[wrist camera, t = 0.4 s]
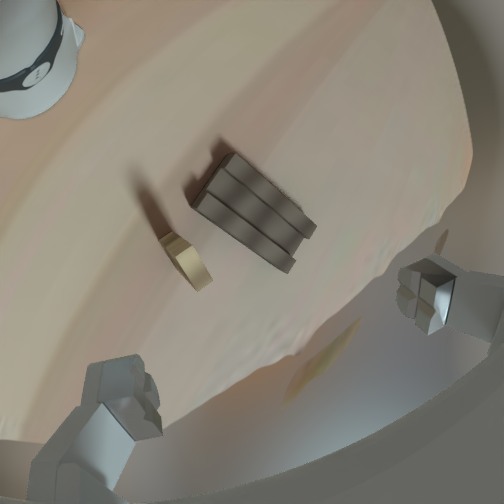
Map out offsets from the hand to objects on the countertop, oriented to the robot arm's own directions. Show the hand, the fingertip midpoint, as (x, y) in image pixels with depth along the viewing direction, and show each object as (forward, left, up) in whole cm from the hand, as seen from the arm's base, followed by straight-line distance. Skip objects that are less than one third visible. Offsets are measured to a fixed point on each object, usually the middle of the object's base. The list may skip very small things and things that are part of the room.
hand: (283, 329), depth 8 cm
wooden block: (+10, 0, -38) cm, 39 cm away
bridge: (+15, +14, -38) cm, 43 cm away
